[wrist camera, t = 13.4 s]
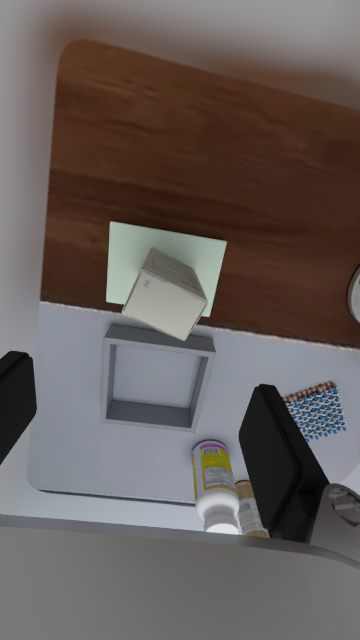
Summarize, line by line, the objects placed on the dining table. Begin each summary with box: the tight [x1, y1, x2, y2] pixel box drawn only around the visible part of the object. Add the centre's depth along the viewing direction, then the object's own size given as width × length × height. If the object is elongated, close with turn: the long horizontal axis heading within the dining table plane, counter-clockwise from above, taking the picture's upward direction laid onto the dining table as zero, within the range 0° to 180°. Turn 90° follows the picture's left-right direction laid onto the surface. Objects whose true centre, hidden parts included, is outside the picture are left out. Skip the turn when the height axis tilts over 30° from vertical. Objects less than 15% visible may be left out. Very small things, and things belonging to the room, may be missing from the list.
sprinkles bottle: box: [235, 481, 269, 538], centre depth 44 cm, size 5×5×14 cm
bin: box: [100, 324, 216, 433], centre depth 37 cm, size 15×15×4 cm
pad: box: [106, 221, 227, 317], centre depth 32 cm, size 14×10×1 cm
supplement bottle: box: [192, 441, 239, 535], centre depth 40 cm, size 7×7×13 cm
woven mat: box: [283, 382, 347, 442], centre depth 42 cm, size 10×11×2 cm
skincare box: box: [122, 247, 208, 341], centre depth 26 cm, size 6×4×12 cm
